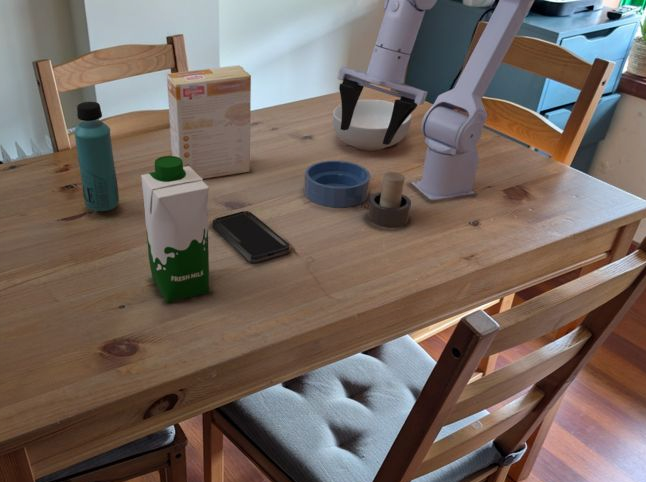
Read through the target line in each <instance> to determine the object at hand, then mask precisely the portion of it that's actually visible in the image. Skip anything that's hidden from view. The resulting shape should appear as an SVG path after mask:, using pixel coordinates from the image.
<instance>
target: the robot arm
mask: <svg viewBox="0 0 646 482" xmlns="http://www.w3.org/2000/svg"><path fill="white" fill-rule="evenodd" d="M437 1H438V0H385V1H384V5H383V13H384V15H383V18H382V22H381V25H380V28H379V31H378V35H377V37H376V38H377V39H376V40H375V41H376V42H375V44H374V47H373V51H372V54H371V57H370V61H369V64H368V68H367V71H361V70H358V69H355V68H354V69H353V68H351V67H348V66H340V67H339V70H338V74H337V77H336V79H337V80H340V81H342V82H341V83H339V87H338V89H339V95H340V100H341V101H340V102H341V103H340V104H342V120H341V130H348V129H349V126H350V124H351V120H352V116H353V113H354V109H355V106H356V104H357V101H358V100H360V97H361V94H362V92H363V90H364V88H367V89H371V90H374V91H376V92H380V93H383V94H386V95H389V96H392V97H396V98H398V99H394V102H393V103H394V107H393V112H392V116H391V120H390V123H389V126H388V129H387V131H386V134H385V137H384V140H383V144H385V145H388V144H390V143H391V141H392V139H393V137H394V135H395V134H396V132H397V130H398V129H399V127H400V126H401V125H402V123H403V122H404V121H405V120H406V118H407V117H408V116H409V115H410V114H411V115H412V113H413V112H414V111H415V110H416V109H417V108H418V105H424V103H425V101H426V98H427V95H428V93H429V92H428V91H426V90H423V89H420V88H417V87H414V86H411V85H408V84H405V83H403V78H404V76H405V73H406V70H407V68H408V67H407V66H408V65H409V61H410V57H411V54H412V51H413V49H414V45H415V44H416V43H415V42H416V40H417V36H418V34H419V31H420V28H421V25H422V22H423V19H424V16H425V13H426V10H427V11H428V10H431V9H432V8H433V7H434V6H435V5H436V3H437ZM534 2H535V0H498V3H497V5H496V7H495V8H494V10H493V12H492V14H491V16H490V18H489V19H488V22H487V24H486V26H485V28H484V30H483V32H482V34H481V36H480V37H479V39H478V42H477V44H476V45H475V47H474V49H473V51H472V53H471V55H470V57H469V58H468V61H467V63H466V65H465V66H464V69H463V70H462V72H461V74H460V76H459V78H458V80H457V82H456V84H455V86H454V88H452V89H449V90H447V91H445V92H442V93H441V94H439V95H437V97H436V99H435V101H434V103H433V104H432V106H430V107H429V109H428V110H426V112H425V114H424V115H423V117H422V120H421V123H420V130H421V131H420V132H421V134H422V136H423V137H424V138H425V139H424V144H426V145H427V147H426V152H425V157H424V163H423V167H422V172H421V173H422V174H421V178H420V179H421V180H416V181H415V180H414V181H412V182H411V184H412V185H413V186H414V187H415V188H416V189H417V190H419V191H420V192H421V193H422V194H423V195H425V196H426V197H427V198H428V199H429V200H431V201H433V200H440V199H447V198H454V197H460V196H466V195H467V196H468V195H474V194H475V191H473V189H474V184H475V180H476V176H477V171H478V168H479V162H480V157H479V151H478V148H477V147H476V146H477V144H478V143H479V142H480V139H481V137H482V133H483V129H484V126H485V124H486V121H487V119H488V113H487V111H486V109H485V106H484V103H483V101H482V100H483V97H484V96H485V94H486V92H487V90H488V89H489V86H490V84H491V83H492V81H493V79H494V77H495V75H496V73H497V71H498V69H499V68H500V66H501V64H502V62H503V61H504V58H505V56H506V54H507V53H508V51H509V49H510V47H511V45H512V43H513V41H514V39H515V37H516V36H517V34H518V32H519V31H520V28H521V27H522V25H523V22H524V21H525V19H526V17H527V15H528V13H529V12H530V11H531V8H532V6H533V4H534ZM375 85H376V86H375ZM379 86H380V87H379ZM382 87H383V88H382ZM385 88H387V89H385ZM388 89H390V90H388Z"/></svg>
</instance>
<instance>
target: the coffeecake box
mask: <svg viewBox="0 0 646 482" xmlns="http://www.w3.org/2000/svg"><path fill="white" fill-rule="evenodd" d="M166 81H167V82H166V83H167V84H166V85H167V101H168V118H169V133H170V148H171V156H175V157H179V158H181V159H182V161H183V167H187V166H190V167H191V168H192V169H193V170H194V171H195V172H196V173H197V174H198V175H199V176H200V177H201V178H202V179H203V180H204V179H210V178H218V177H223V176H230V175H236V174H243V173H250V171H251V109H252V108H251V107H252V106H251V103H252V101H251V100H252V99H251V98H252V74H250V73H249V72H248V71H246V70H245V68H244V67H243V66H241V65H240V64H238V65H237V64H236V65H230V66H222V67H212V68H205V69H197V70H196V69H195V70H188V71H179V72H170V73H167V74H166Z"/></svg>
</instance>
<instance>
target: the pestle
mask: <svg viewBox="0 0 646 482" xmlns="http://www.w3.org/2000/svg"><path fill="white" fill-rule="evenodd" d="M405 180H406V177H405V175H404V174H403V173H401V172H395V171H389V172H386V173H384V175H383V178H382V186H381V191H380V192H381V198H380V206H382V207H386V208H400V204H401V198H402V194H403V191H404V185H405Z"/></svg>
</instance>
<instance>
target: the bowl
mask: <svg viewBox="0 0 646 482" xmlns="http://www.w3.org/2000/svg"><path fill="white" fill-rule="evenodd" d="M371 177H372V176H371V173H370V171H369V170H368V169H367V168H366V167H364V166H362V165H360V164H358V163H355V162H351V161H344V160H322V161H318V162H315V163H312V164H311V165H309V166H308V167H307V168H306V170H305V171H304V179H303V180H304V181H303V183H304V184H303V195H304V197H305V198H306V199H307V200H308V201H310V202H312V203H314V204H316V205H319V206H323V207H327V208H350V207H355V206H358V205H360V204H363V203H365V201H367V199H368V196H369V192H370V184H371V179H372V178H371Z"/></svg>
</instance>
